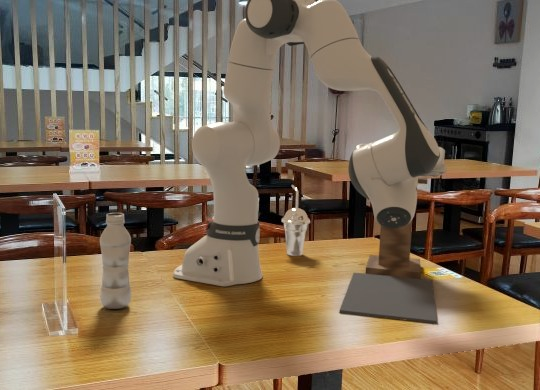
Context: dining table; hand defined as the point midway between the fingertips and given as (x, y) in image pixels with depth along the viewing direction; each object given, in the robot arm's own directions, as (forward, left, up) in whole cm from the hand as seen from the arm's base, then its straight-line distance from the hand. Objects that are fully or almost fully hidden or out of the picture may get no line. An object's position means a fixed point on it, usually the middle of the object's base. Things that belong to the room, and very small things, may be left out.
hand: (401, 140), depth 142 cm
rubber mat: (0, -10, -36) cm, 37 cm away
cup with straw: (-29, +21, -36) cm, 51 cm away
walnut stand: (0, +13, -36) cm, 38 cm away
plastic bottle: (-56, -37, -36) cm, 76 cm away
